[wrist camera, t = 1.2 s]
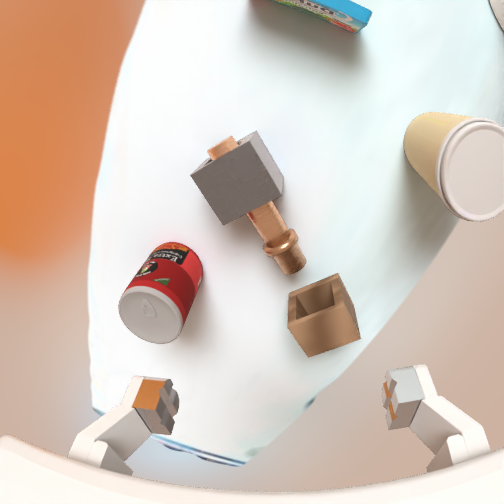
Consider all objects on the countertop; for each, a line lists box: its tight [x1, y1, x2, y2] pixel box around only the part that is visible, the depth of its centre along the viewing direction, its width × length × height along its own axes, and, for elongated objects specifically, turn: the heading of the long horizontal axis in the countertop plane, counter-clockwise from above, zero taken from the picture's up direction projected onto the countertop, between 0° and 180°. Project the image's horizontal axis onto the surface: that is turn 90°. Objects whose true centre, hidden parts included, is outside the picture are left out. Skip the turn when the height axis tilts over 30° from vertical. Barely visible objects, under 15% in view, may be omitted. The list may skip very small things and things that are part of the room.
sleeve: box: [190, 131, 283, 225], centre depth 33 cm, size 7×6×6 cm
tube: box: [207, 136, 306, 275], centre depth 34 cm, size 4×16×4 cm, turn 30°
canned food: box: [118, 242, 203, 344], centre depth 38 cm, size 8×8×11 cm
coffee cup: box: [404, 112, 504, 221], centre depth 26 cm, size 9×9×12 cm
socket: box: [288, 273, 361, 357], centre depth 40 cm, size 7×6×7 cm
